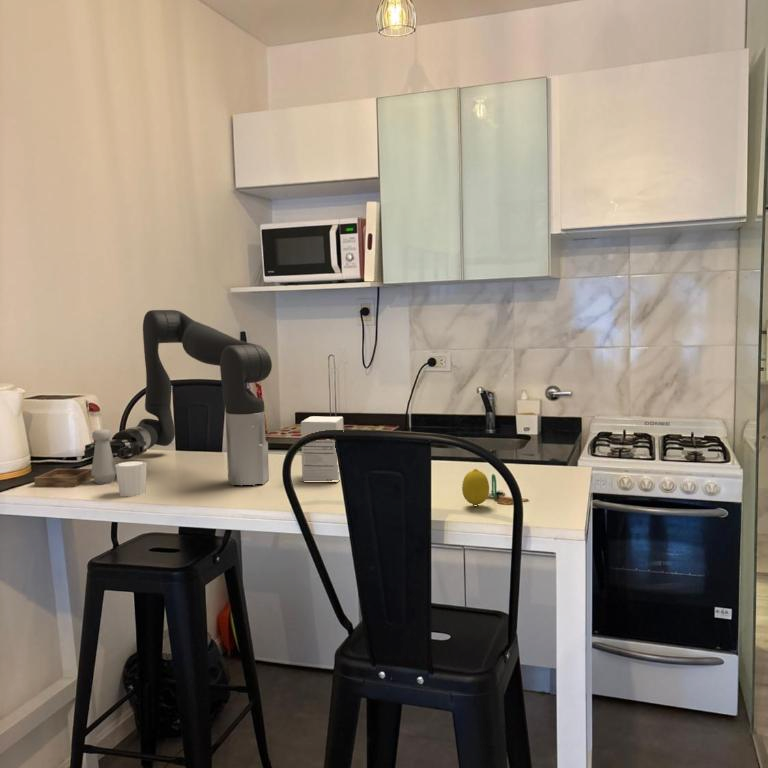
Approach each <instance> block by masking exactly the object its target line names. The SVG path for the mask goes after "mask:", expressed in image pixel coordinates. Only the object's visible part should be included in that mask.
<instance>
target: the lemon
mask: <svg viewBox="0 0 768 768" xmlns="http://www.w3.org/2000/svg"><path fill="white" fill-rule="evenodd" d="M489 483H490V482H489V479H488V477H487V476H486V474H485V473H483V472H482V471H480V470H479V469H477V468H474V469H473V470H471V471H469V472H467V474H465V476H464V478H463V480H462V487H461V490H462V495H463V498H464V499H465V500H466V502H467V503H469V504H471V505H472V504H473V505H478V504H479V505H481V504H483V503H484V502H485V501H486V500H487V499H488V497H489V494H490V485H489ZM473 505H472V506H473ZM479 505H478V506H479Z"/></svg>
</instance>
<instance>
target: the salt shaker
mask: <svg viewBox="0 0 768 768" xmlns="http://www.w3.org/2000/svg"><path fill="white" fill-rule="evenodd" d="M91 435H92V440H93V441H94V442H95V450H94V456H92V457H93V458H92V465H91V469H92V470H91V476H92V477H93V478H92V479H93V481H94V482H95V483H97V485H105V484H111V483H112V481H113V482H114V480H115V478H116V476H117V474H116V467H115V465H116V463H115V460H114V455H112V451H111V447H110V442H109V440H111V439H112V431H111V430H109V429H106V428H101V429H100V428H99V429H96V430H94V431H93V432H92V433H91Z"/></svg>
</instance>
